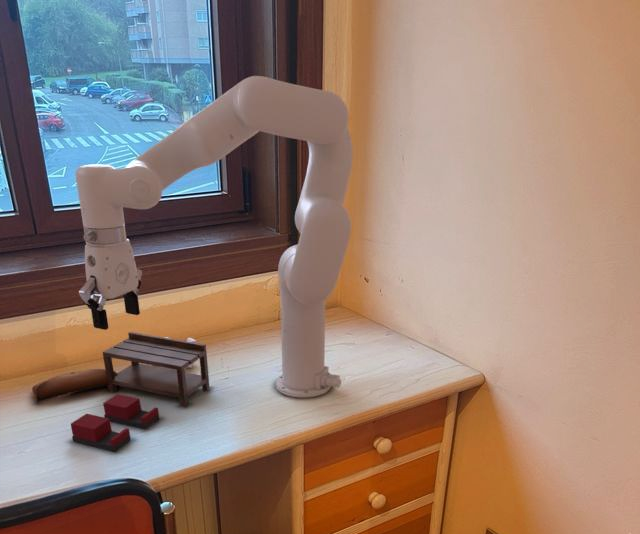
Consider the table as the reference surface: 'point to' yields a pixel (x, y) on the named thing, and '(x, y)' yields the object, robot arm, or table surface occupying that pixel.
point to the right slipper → (129, 412)
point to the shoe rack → (161, 355)
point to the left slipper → (98, 433)
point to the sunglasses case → (70, 383)
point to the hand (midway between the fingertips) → (117, 320)
